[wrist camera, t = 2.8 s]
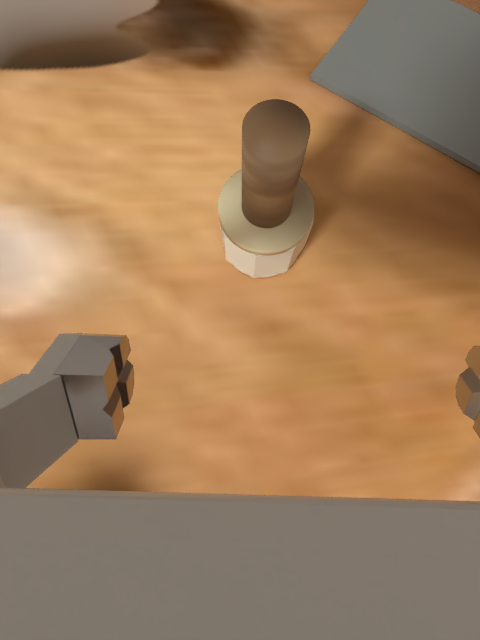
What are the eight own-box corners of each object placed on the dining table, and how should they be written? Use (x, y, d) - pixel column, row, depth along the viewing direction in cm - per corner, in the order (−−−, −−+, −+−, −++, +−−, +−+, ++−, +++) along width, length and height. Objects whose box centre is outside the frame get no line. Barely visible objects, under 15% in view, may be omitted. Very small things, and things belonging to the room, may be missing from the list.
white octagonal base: (207, 250, 30) (202, 222, 26) (251, 193, 31) (253, 156, 27) (272, 293, 29) (278, 271, 25) (315, 232, 31) (328, 201, 26)
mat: (310, 79, 34) (311, 73, 34) (389, -22, 37) (391, -29, 36) (499, 184, 32) (504, 180, 31) (569, 67, 34) (575, 61, 34)
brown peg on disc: (200, 222, 26) (183, 142, 18) (253, 155, 27) (258, 53, 20) (279, 273, 25) (296, 210, 17) (330, 201, 26) (366, 113, 19)
